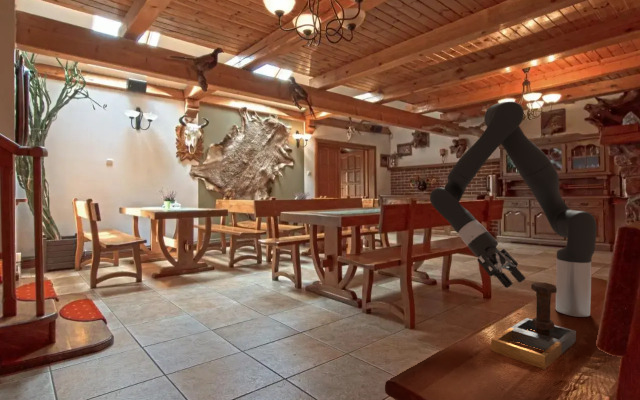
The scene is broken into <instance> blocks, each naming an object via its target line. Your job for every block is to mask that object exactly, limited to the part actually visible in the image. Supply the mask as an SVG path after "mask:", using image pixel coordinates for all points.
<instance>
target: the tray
mask: <svg viewBox="0 0 640 400" xmlns="http://www.w3.org/2000/svg"><path fill="white" fill-rule="evenodd" d="M533 319H534V318H528V317H526V318H524V319H522V320H521V321H519V322H518V323H515V324H514V325H513V326H511V327H509V328H508V329H506V330H504V331H502V332H501V333H499V334H497V335H495V337H493V338H491V339H490V341H491V345H490V346H491V347H490V350H491V351H492V352H493V353H497V354H500V355H502V356H505V357H507V358H510V359H513V360H516V361H519V362H522V363H525V364H527V365H530V366H534V367H535V368H539V369H542V370H546V369H547V368H548V367H550V365H552V364H553V363H554V362H555V361H556V360H557V359H558V358H559V357H561V355H563V354H564V353H565V352H566V351H567V350H568V349H570V348H571V347H572V346H573V345H574V344H575V343H576V339H577V337H576V336H577V331H576V329H575V330H574V329H570V328H566V327H562V326H558V325H555V324H554V328H553V329H552V330H550V337H548V336H545V335H541V334H538V333H536V332H534V331H531V330H528V331H527V329H532V330H535V331H536V327H535V326H534V325H533V323H532V321H533ZM512 341H514V342H513V343H515V342H520V343H522V344H525V345H528V346H531V347H535V348H538V349H541V350H544V352H543V351H542V353H540V352H537V351H534V350H531V349H529V348H525V347H522V346H519V345H516V344H513V343H511V342H512ZM525 345H524V346H525ZM528 346H527V347H528ZM531 347H530V348H531Z"/></svg>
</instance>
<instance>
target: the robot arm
mask: <svg viewBox="0 0 640 400" xmlns="http://www.w3.org/2000/svg"><path fill="white" fill-rule="evenodd" d="M524 117H525V112H524V109H523V107H522V105H521V104H520V103H518V102H515V101H513V100H510V101H507V100H506V101H502V102H498V103H495V104H493V105H491V106H490V107H488V108H487V109H486V111H485V113H484V123H485V126H486V128H485V129H484V131H483V133H482V134H481V136H480V137H478V139H477V140H476V141H475V143H474V144H472V145H471V147H469V148H468V149H467V150H466V151H465V152H464V153H463V155H462V156H461V157H460V158H459V159H458V161H457V162H456V163H455V164H454V166H453V168H451V170H450V172H449V173H448V175H447V182H446V183H445V186H444V187H440V186H439V187H436V188H434V189H432V190H431V192H430V195H429V201H430V203H431V205H432V207H433V208H434V209H435V210H436V211H437V212H438V213H439V214H440V215H441V216H442V217H443V218H444V219H445V220H446V221H447V222H448V223H449V224H450V226H451V227H452V228H453V230H454V231H455V232H456V233H457V235H458V236H459V238H460V239H461V240H462V241H463V243H464V244H465V245H466V246H467V248H468V249H469V250H470V251H471V253H472V254H473V255H474V256H475V257H476V260H477V262H478V264H479V265H480V266H481V267H482V268H483V269H484V270H485V272H486V273H487V274H488V276H489V277H494V278H497V279H498V281H499V282H500V283H501V284H502V285H503V286H504V288H506V289H508V288H509V287H511V286H512V285H513V282H512V280H511V279H510V278H509V277H508V275H507V274H506V273H505V272H504V271H503V270H504V269H505V270H506V271H508V272H510V274H511V275H512V276H513V278H514V279H515V280H516V281H517V282H518V283H522V282H523V281H525V280H526V276H525V275H524V274H523V273H522V272H521V271H520V270H519V269H518V265H519V263H518V262H517V260H515V259H514V258H513V257H512V256H511V255H510V253H509V252H508V251H507V250H506V249H504V248H502V249H501V250H499V249H498V248H497V246H498V244H499V241H497V239H496V238H495V237H494V236H493V235H492V234H491V233H490V232H489V231H488V229H487V228H486V227H484V225H483V224H482V223H480V222H479V221H478V220H477V218H475V216H474V215H473V214H472V213H471V212H470V211H469V210H468V209H467V208H465V207H464V206H462V204H461V203H460V201H461V199H462V198H463V195H464V193H465V191H466V189H467V187H468V185H470V183H471V182H472V181H473V179H474V178H476V177H475V176H476V175H477V174H478V172H479V171H480V170H481V169H482V168H483V166H484V164H485V163H486V162H487V160H488V159H489V158H490V157H491V156H492V155H493V154H494V152H495V151H496V150H497V149H498V147H499V146H500V145H501V146H502V147H503V149H504V150H505V152H506V153H507V155H508V157H509V159H510V160H511V162H512V164H513V165H514V167H515V168H516V170H517V172H518V174H519V175H520V177H521V178H522V180H523V182H524V183H525V184H526V186H527V187H528V189H529V190H530V191H531V193H532V195H533V196H534V198H535V200H536V201H537V202H538V204H539V206H540V207H541V209H542V211H543V213H544V215H545V217H546V219H547V221H548V223H549V226H550V227H551V229H552V230H553V232H554V233H555V234H556V235H558V236H559V237H562V238H567V240H566V246H564V247H563V248H559V249H557V250H556V265H555V266H556V273H555V277H556V278H555V280H556V281H555V287H556V288H557V293H555V310H556V311H557V312H558V313H560V314H563V315H567V316H571V317H579V318H587V317H590V316H591V300H592V257H593V255H594V254H595V250H596V242H597V241H596V240H597V232H598V231H597V230H598V229H597V221H596V219H595V216H593V214H592V213H590V212H588V211H583V210H575V209H574V210H573V209H571V208H569V206H568V205H567V204H566V202H565V201H564V200H563V198H562V196H561V193H560V177H559V174H558V171H557V169H556V167H555V166H554V164H553V163H552V161H551V160H550V158H549V157H548V155H547V154H545V152H544V151H542V150H541V148H539V147H538V146H537V145H536V144H535V143H534V142H533V141H532V140H531V139H529V138H528V137H527V136H526V135H525V133H524V132H523V130H522V128H521V126H520V125H521V123H522V122H523V120H524Z"/></svg>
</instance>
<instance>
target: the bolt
mask: <svg viewBox="0 0 640 400" xmlns="http://www.w3.org/2000/svg"><path fill="white" fill-rule="evenodd" d="M530 287H531V288H530V289H531V290H533V291H534V292H535V293H536V294H535V295H536V301H535V302H536V304H535V305H536V309H535V310H536V316H535V317H534V318H532V319H533V321H532V323H533V325H534V326H535V327H536V332H535V333H538V334H541V335H545V336H548V337H551V336H550V330H552V329H553V328H554V325H555V323H554V321H553V320H552V319H551V303H552V302H551V299H552V294H556V293H557V288H556V285H554V284H552V283H547V282H533V283H532V284H531V285H530Z"/></svg>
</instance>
